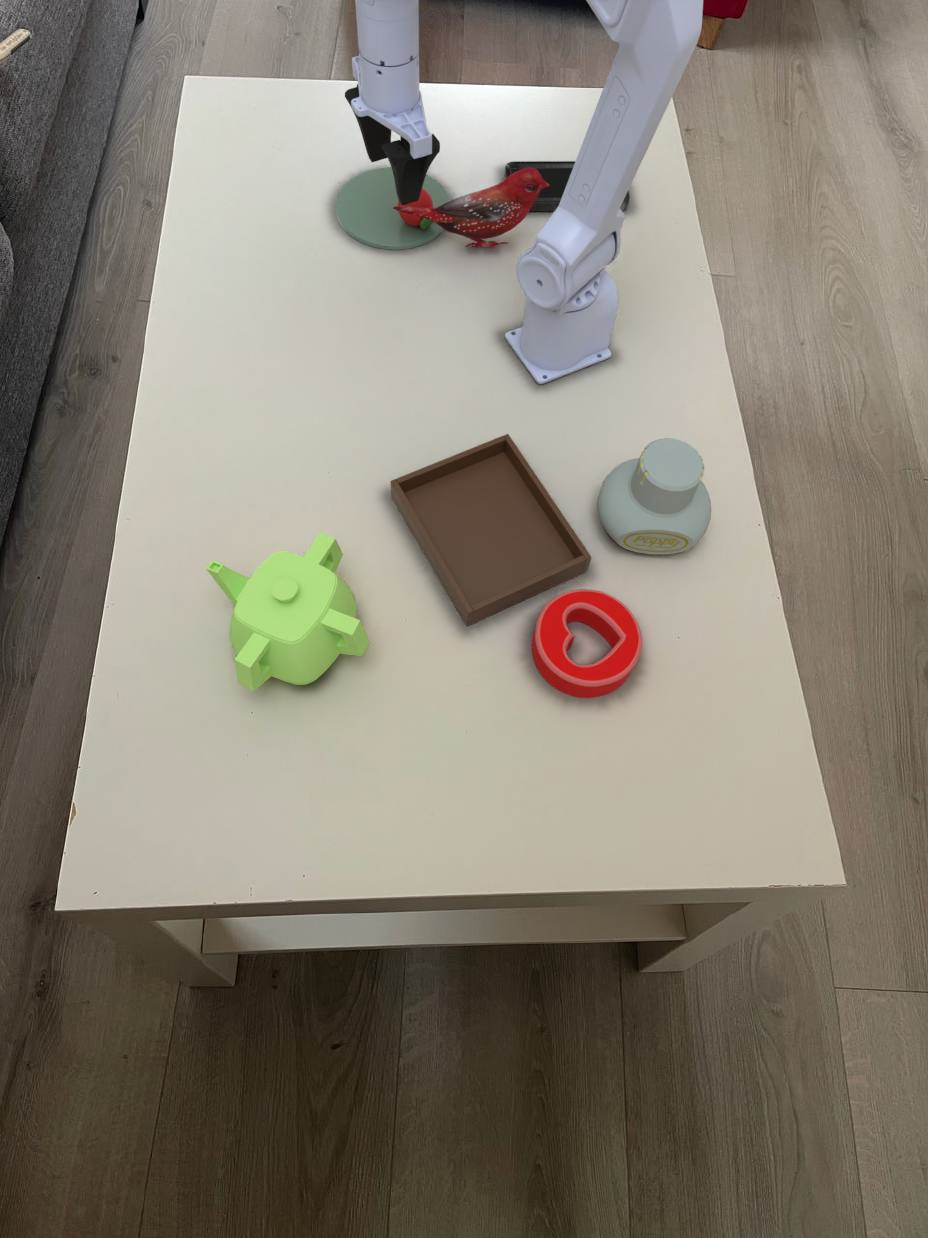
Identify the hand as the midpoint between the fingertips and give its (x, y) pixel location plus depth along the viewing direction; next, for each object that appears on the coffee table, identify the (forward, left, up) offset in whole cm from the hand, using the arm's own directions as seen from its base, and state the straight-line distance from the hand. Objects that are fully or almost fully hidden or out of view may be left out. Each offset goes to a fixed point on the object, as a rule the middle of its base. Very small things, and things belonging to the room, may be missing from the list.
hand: (393, 179), depth 93 cm
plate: (-3, -7, -9) cm, 12 cm away
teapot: (+30, +41, -10) cm, 52 cm away
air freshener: (-6, +45, -10) cm, 47 cm away
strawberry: (-4, -3, -7) cm, 8 cm away
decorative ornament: (+7, +54, -10) cm, 56 cm away
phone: (-24, -1, -9) cm, 26 cm away
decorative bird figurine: (-8, +3, -4) cm, 9 cm away
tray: (+9, +39, -9) cm, 42 cm away
